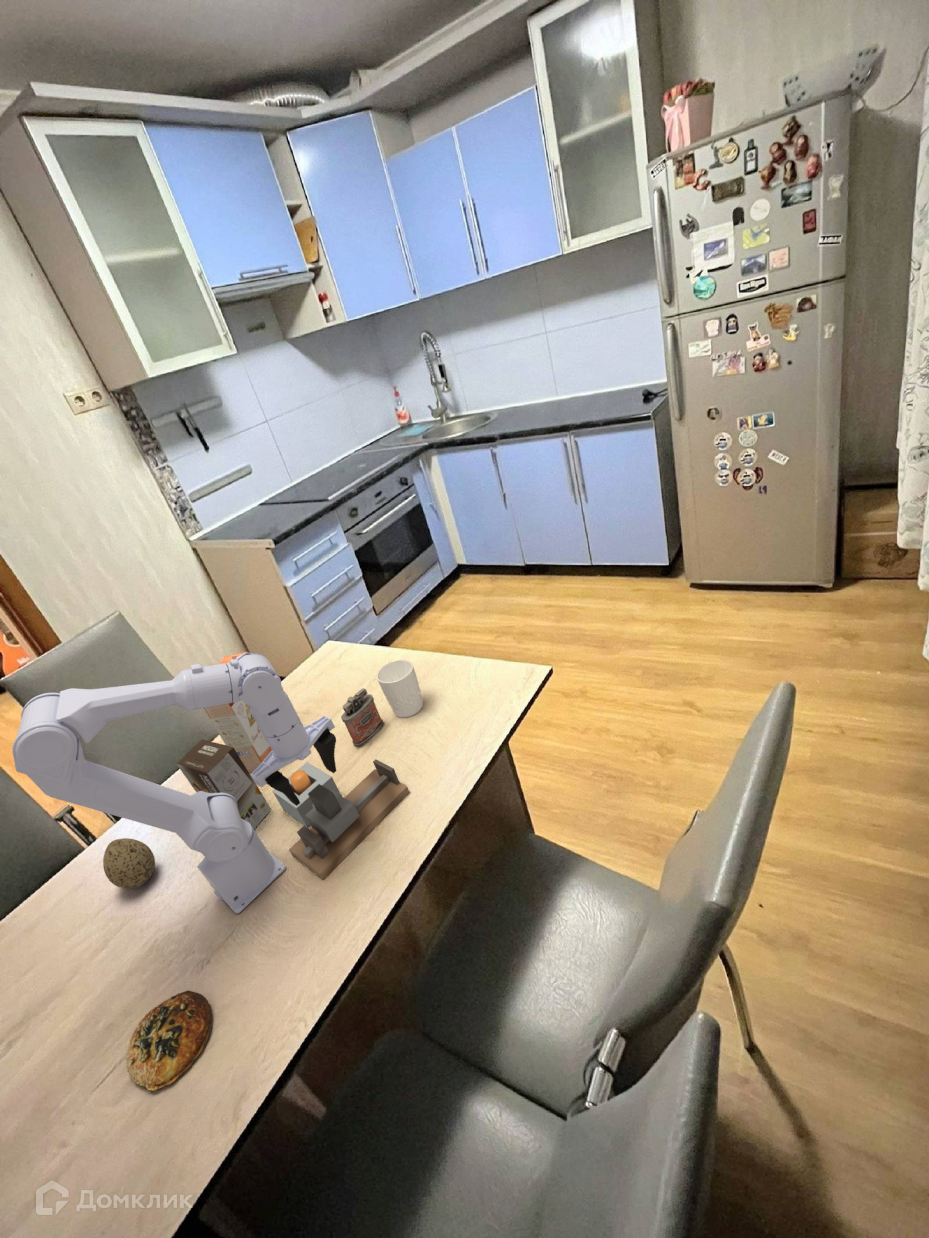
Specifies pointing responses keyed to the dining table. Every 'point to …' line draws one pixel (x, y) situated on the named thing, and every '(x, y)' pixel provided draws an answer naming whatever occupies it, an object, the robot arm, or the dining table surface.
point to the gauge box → (306, 793)
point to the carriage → (330, 813)
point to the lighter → (361, 718)
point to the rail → (372, 805)
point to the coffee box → (224, 778)
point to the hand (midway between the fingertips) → (313, 785)
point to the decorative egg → (128, 863)
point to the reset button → (300, 781)
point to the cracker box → (240, 729)
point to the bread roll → (169, 1040)
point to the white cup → (400, 687)
